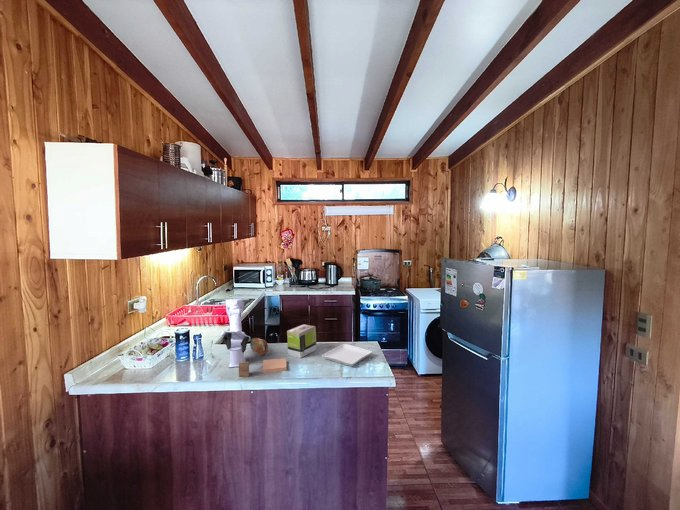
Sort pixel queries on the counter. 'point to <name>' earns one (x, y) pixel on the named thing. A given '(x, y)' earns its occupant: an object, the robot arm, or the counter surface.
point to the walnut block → (244, 369)
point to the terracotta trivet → (274, 365)
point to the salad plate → (347, 354)
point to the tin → (259, 346)
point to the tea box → (301, 340)
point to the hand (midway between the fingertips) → (236, 349)
